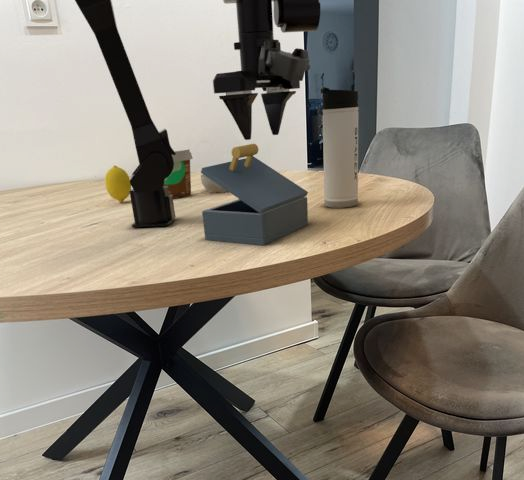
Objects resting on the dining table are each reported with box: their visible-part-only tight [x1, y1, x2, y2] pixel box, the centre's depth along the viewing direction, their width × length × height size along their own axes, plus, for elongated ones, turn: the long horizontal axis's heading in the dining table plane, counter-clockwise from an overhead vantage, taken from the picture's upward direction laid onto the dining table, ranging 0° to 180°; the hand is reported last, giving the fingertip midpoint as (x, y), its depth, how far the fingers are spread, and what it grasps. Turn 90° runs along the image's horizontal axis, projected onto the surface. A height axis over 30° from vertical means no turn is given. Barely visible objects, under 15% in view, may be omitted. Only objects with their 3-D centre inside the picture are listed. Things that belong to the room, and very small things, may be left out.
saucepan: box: [199, 174, 228, 193], centre depth 122 cm, size 11×18×4 cm, turn 54°
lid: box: [200, 143, 309, 213], centre depth 77 cm, size 11×14×4 cm
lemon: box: [104, 165, 132, 203], centre depth 115 cm, size 6×6×8 cm
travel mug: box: [320, 87, 359, 209], centre depth 93 cm, size 6×7×20 cm
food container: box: [163, 149, 193, 200], centre depth 116 cm, size 12×6×10 cm, turn 76°
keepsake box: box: [201, 196, 309, 246], centre depth 81 cm, size 11×14×4 cm
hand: (262, 137), depth 90 cm, fingers open, 9 cm apart
